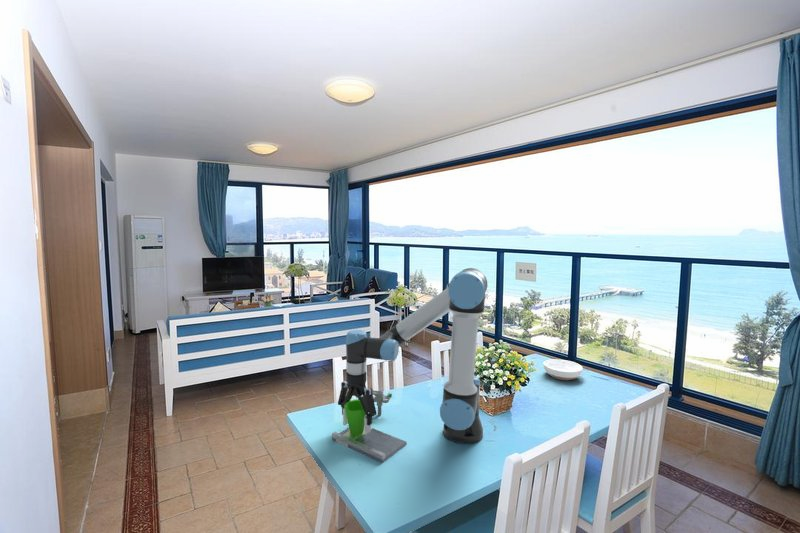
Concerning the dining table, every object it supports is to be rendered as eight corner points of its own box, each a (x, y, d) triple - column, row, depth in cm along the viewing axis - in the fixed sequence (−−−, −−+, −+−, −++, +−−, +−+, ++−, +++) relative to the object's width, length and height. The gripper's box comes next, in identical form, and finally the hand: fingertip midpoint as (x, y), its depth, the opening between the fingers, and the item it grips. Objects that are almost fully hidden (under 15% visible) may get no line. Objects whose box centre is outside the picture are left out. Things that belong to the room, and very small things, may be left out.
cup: (340, 436, 146) (339, 408, 145) (352, 424, 154) (351, 397, 153) (361, 441, 143) (361, 412, 141) (372, 428, 151) (372, 401, 150)
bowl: (546, 382, 202) (547, 370, 201) (539, 368, 221) (540, 358, 220) (587, 384, 199) (587, 373, 198) (576, 371, 218) (576, 360, 217)
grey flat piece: (406, 444, 143) (406, 437, 142) (382, 462, 131) (382, 455, 131) (357, 424, 157) (357, 418, 156) (332, 439, 145) (332, 433, 145)
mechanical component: (390, 418, 162) (390, 394, 161) (366, 415, 164) (366, 392, 163) (392, 414, 165) (392, 392, 164) (368, 412, 167) (368, 389, 166)
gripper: (386, 375, 143) (386, 433, 145) (341, 362, 156) (342, 415, 158) (373, 381, 137) (373, 442, 139) (327, 367, 150) (328, 422, 152)
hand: (356, 427), depth 149 cm, fingers open, 10 cm apart
